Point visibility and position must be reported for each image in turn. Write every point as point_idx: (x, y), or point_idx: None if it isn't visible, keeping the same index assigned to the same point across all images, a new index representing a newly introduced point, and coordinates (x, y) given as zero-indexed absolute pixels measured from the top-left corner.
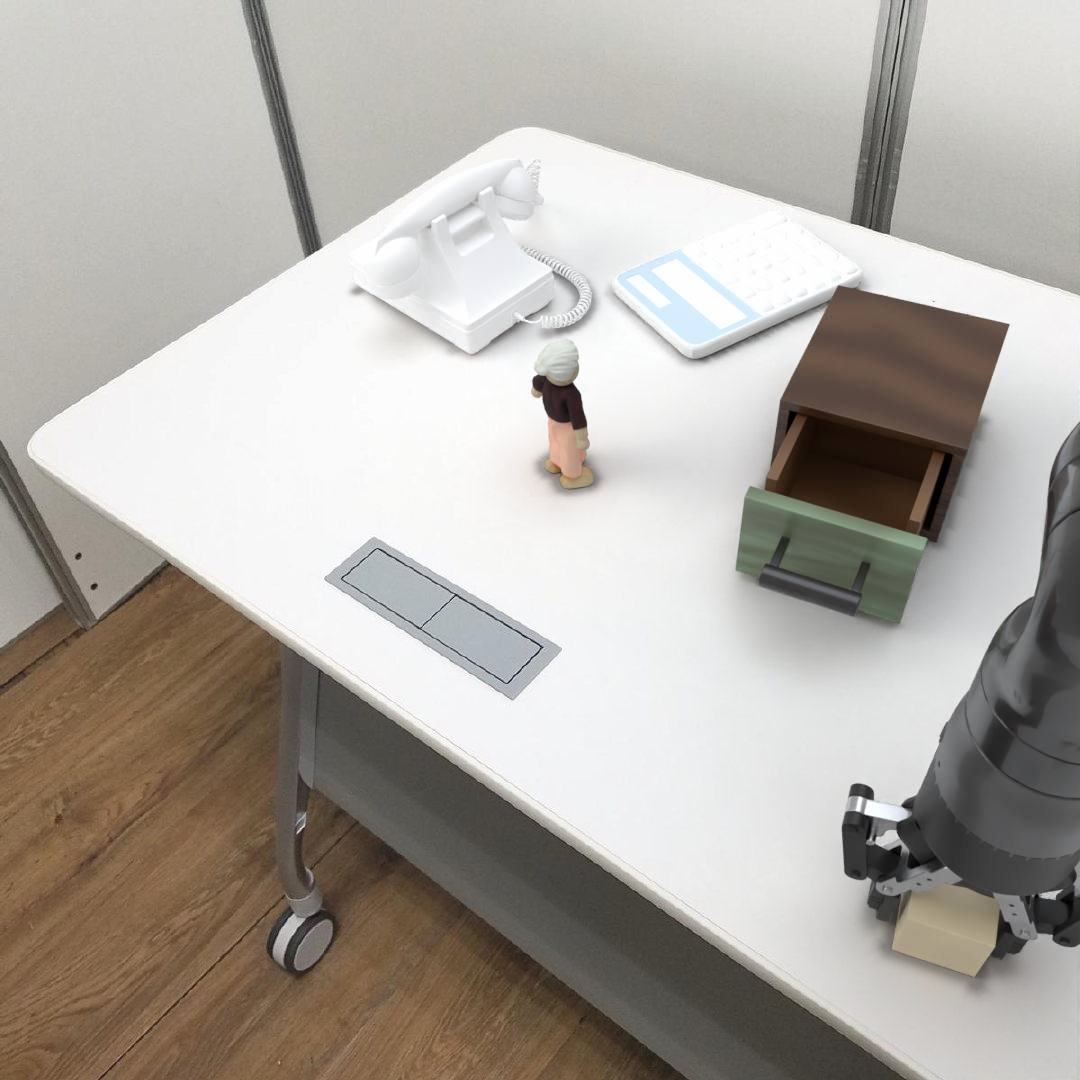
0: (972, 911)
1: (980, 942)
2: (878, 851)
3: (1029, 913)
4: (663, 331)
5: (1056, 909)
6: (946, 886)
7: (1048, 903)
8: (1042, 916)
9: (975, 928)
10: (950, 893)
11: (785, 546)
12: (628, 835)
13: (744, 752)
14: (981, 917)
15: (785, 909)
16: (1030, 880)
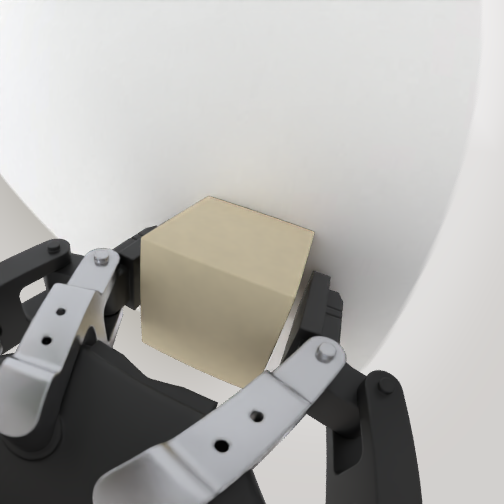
0: (225, 351)
1: (233, 384)
2: (67, 282)
3: (257, 464)
4: None
5: (344, 414)
6: (184, 314)
7: (335, 404)
8: (318, 412)
9: (228, 370)
10: (192, 323)
11: None
12: (20, 180)
13: (62, 69)
14: (237, 362)
15: (103, 236)
16: None
